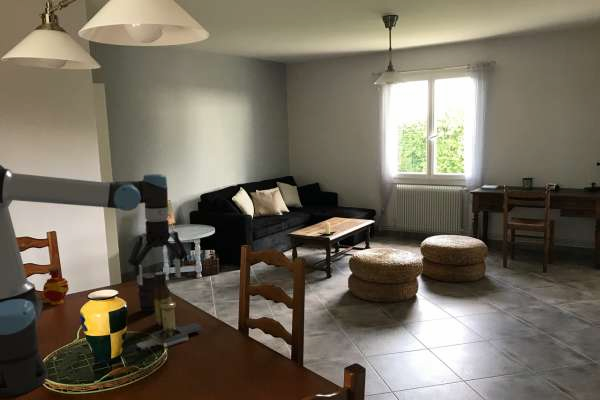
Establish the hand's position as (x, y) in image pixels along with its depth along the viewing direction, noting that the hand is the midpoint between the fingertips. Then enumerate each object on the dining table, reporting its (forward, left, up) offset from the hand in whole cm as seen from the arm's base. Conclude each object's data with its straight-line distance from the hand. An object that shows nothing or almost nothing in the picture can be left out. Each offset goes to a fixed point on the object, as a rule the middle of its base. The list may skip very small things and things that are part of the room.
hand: (159, 280), depth 161 cm
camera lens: (+8, +30, -21) cm, 37 cm away
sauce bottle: (+6, +13, -21) cm, 25 cm away
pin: (+1, -3, -21) cm, 21 cm away
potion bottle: (-18, +67, -21) cm, 73 cm away
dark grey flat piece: (+2, -3, -21) cm, 21 cm away
